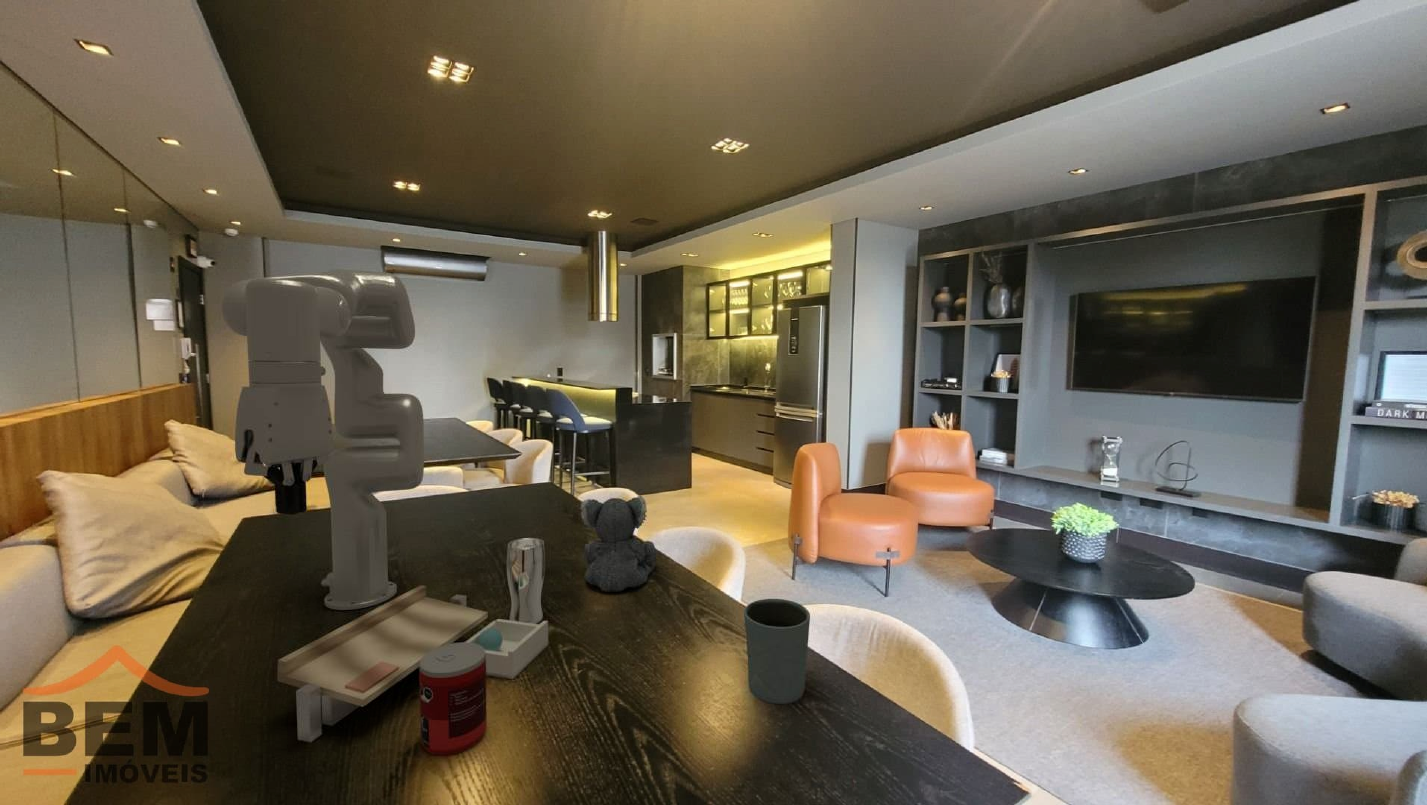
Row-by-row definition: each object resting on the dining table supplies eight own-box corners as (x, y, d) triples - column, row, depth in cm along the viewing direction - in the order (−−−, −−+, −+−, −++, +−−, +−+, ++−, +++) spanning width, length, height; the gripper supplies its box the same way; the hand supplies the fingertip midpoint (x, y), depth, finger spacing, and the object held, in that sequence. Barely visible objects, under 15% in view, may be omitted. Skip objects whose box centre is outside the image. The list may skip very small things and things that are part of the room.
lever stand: (457, 629, 101) (456, 594, 100) (466, 630, 100) (466, 595, 100) (297, 739, 71) (296, 690, 71) (310, 742, 71) (308, 693, 70)
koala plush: (657, 565, 135) (658, 487, 133) (651, 596, 117) (652, 506, 116) (587, 564, 134) (587, 486, 133) (570, 595, 116) (569, 505, 115)
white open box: (453, 669, 88) (453, 643, 87) (494, 637, 98) (494, 613, 98) (513, 679, 85) (512, 652, 85) (548, 645, 96) (547, 621, 95)
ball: (469, 635, 91) (490, 634, 90) (484, 624, 94) (505, 623, 94) (473, 659, 91) (494, 658, 90) (488, 647, 95) (509, 646, 94)
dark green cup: (791, 715, 78) (794, 634, 77) (730, 692, 83) (731, 615, 82) (817, 681, 86) (820, 607, 85) (760, 661, 92) (762, 592, 91)
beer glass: (533, 630, 101) (533, 550, 100) (499, 625, 103) (498, 547, 101) (551, 613, 108) (551, 539, 107) (519, 609, 109) (519, 536, 108)
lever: (420, 602, 100) (421, 584, 100) (487, 619, 97) (489, 600, 97) (275, 685, 74) (276, 660, 74) (361, 711, 71) (362, 686, 71)
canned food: (435, 718, 76) (433, 642, 75) (494, 716, 76) (493, 640, 76) (409, 758, 68) (407, 673, 67) (475, 755, 69) (474, 671, 68)
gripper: (315, 373, 80) (319, 497, 81) (199, 376, 65) (207, 526, 67) (358, 375, 78) (362, 500, 80) (249, 377, 64) (256, 531, 65)
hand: (291, 512), depth 73 cm, fingers closed
